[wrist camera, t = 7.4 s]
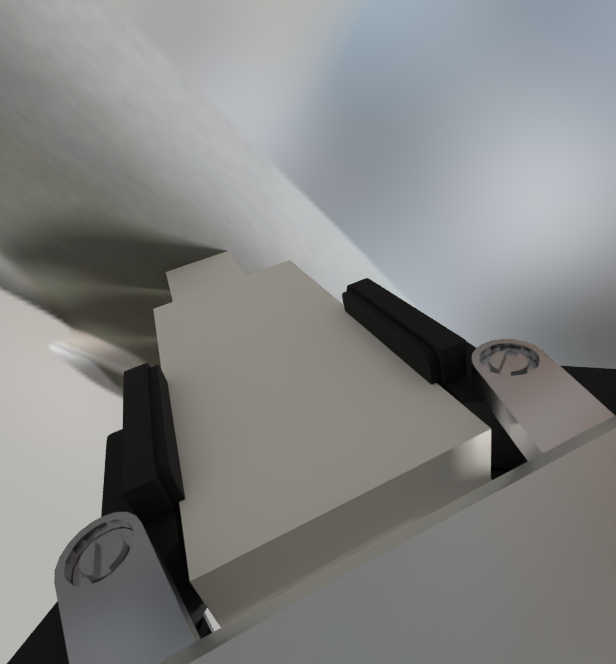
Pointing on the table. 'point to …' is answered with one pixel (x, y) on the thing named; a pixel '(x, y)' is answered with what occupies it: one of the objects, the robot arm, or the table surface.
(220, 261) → the tile
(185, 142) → the table surface
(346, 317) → the tile
